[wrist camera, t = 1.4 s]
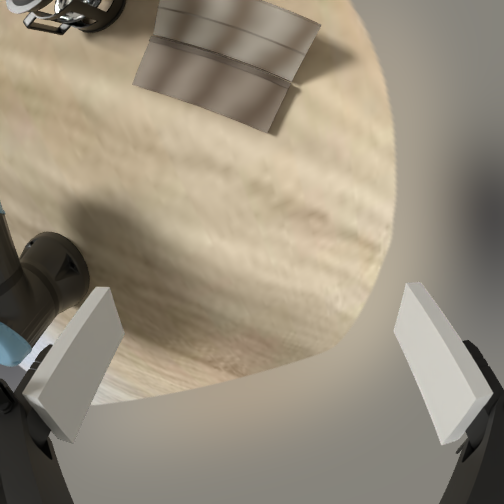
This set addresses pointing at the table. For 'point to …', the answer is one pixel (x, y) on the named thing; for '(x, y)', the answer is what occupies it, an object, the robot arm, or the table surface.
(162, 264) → the table surface
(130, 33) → the table surface
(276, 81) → the laid board
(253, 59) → the plank
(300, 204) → the table surface
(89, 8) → the french press
